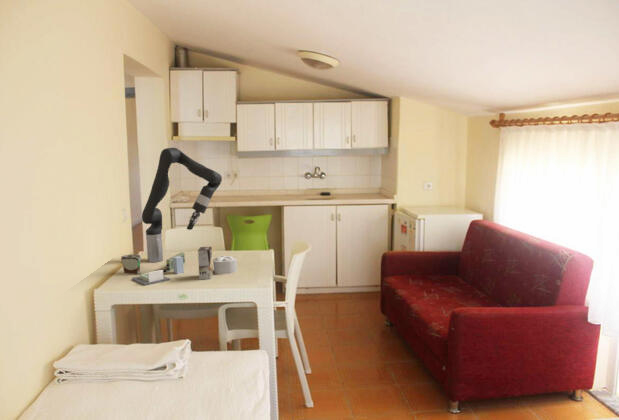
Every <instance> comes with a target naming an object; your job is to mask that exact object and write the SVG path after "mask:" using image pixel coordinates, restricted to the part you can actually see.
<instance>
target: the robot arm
mask: <svg viewBox="0 0 619 420" xmlns="http://www.w3.org/2000/svg"><path fill="white" fill-rule="evenodd" d="M158 160H159V161H158V166H157V170H156V174H155V175H154V179H153V182H152V186H151V189H150V192H149V196H148V199H147V201H146V203H145V205H144V208H143V211H142V213H141V221H142V222H143V223H144V224H146V225H150V226H149V227H148V228H147V229H145V237H146V239H145V241H146V253H147V263H148V262H149V263H157V262H162V261H164V254H163V252H164V251H163V239H162V230H163V215H162V211H161V209H159V208H158V207H157V206H158V204H159V203H160V202H161V201H162V200H163V199H164V198H165V197H166V195H167V193H168V190H169V187H170V178H169V169H170V167H171V165H172V164H176V163H177V164H179V165H182V166H184V167H185V168H186V169H187V170H188V171H189V172H191V174H193V175H194V176H197V177H199V178H201V179H203V180H204V181H207V184H206V185H204V186H202V188H201V190H200V192H199V194H198V195H197V198H196V200H195V201H194V203H193V205H192V210H195V211H193V212H192V214H191V217H190V219H189V220H188V221H189V223H188V225H187V226H186V230H189V231H190V230H193V229H194V227H195V225H196V223H197V222H198V221H199V218H200V217H201V214H205V213H206V211H207V209H208V207H209V205H210V202H211V199H212V198H213V196H214V193H215V192H216V191H217V189H218V188H219V186H220V185H221V183H222V179H223V177H222V175H221V174H220V173H218V172H217V171H215V170H213V169H211V168H208V167H207V166H205V165H203V164H201V163H199V162H198V161H196V160H194V159H192V158H191V157H189V156H188V155H186V154H185V153H184V152H183V151H181V150H180V149H178V147H166V148H164V149H162V150H161V153H160V155H159V159H158Z"/></svg>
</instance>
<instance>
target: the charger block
mask: <svg viewBox="0 0 619 420" xmlns="http://www.w3.org/2000/svg"><path fill="white" fill-rule="evenodd" d="M172 257H173V256H172ZM184 270H185V269H184V264H183V257H181V256H177V257H173V269H172V273H173V274H176V275H180V274H183V273H184V272H185V271H184Z"/></svg>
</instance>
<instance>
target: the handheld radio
mask: <svg viewBox="0 0 619 420" xmlns="http://www.w3.org/2000/svg"><path fill="white" fill-rule="evenodd" d="M177 256H181V257H183V265H184V264H185V263H186V257H185V252H180V253H178V254H175V255H173V256H171V257H170V258H166V261H165V262H166V268H165V269H162V270H163V273H166V272H167V271H173V257H177Z"/></svg>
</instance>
